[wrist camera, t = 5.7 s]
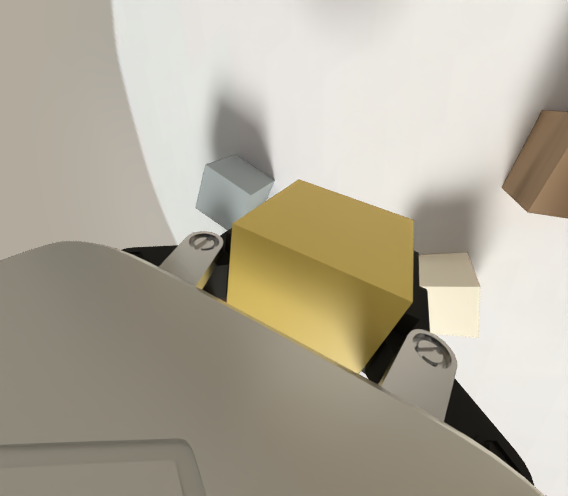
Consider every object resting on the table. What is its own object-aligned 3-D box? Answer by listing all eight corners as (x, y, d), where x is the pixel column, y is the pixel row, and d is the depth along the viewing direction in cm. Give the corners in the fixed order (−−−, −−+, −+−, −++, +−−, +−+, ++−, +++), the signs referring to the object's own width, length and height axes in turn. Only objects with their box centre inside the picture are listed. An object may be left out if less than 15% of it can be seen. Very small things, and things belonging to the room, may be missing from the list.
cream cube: (467, 252, 21) (480, 286, 17) (466, 297, 23) (478, 337, 19) (403, 255, 24) (402, 286, 20) (407, 295, 25) (408, 331, 22)
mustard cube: (413, 220, 9) (412, 302, 6) (365, 304, 12) (342, 396, 8) (298, 179, 11) (232, 223, 7) (279, 264, 14) (224, 329, 10)
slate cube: (275, 180, 25) (250, 195, 21) (258, 216, 28) (234, 235, 24) (236, 154, 25) (205, 164, 22) (224, 192, 29) (195, 207, 25)
